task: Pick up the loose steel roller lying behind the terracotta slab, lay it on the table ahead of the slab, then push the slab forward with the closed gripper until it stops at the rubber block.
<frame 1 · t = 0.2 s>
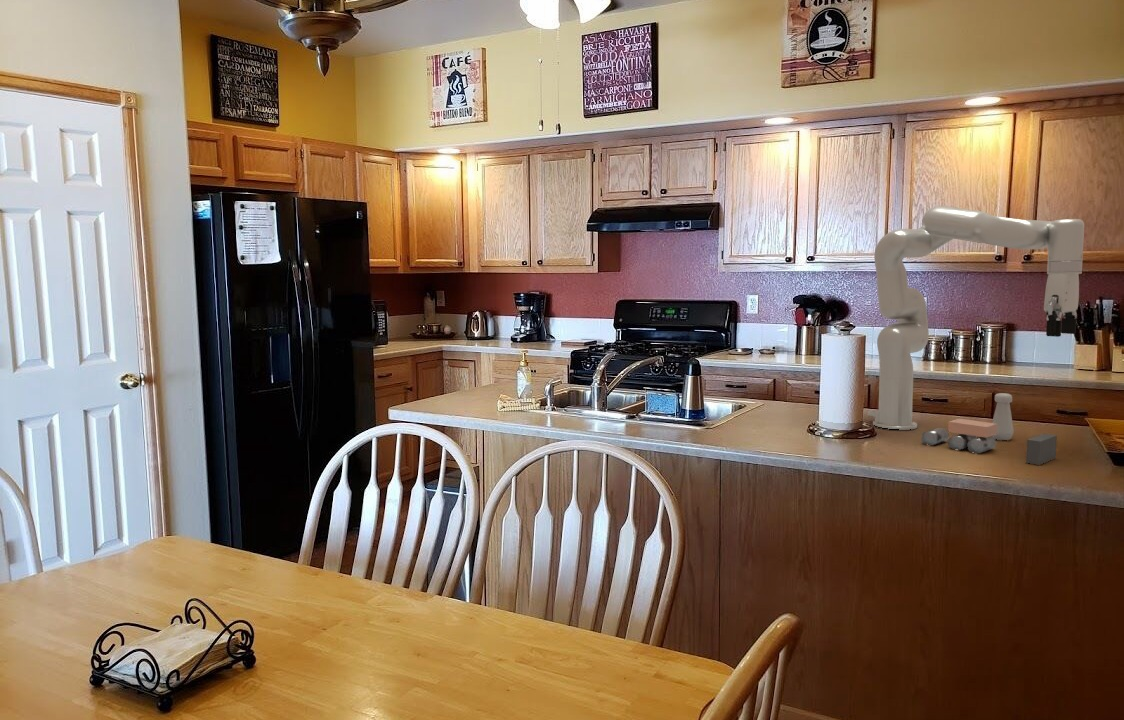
hand: (1061, 334, 202), 31 cm above the kitchen island counter, tool pointing down, fingers open, 9 cm apart
loose steel roller: (934, 443, 218), on the kitchen island counter
terracotta slab: (972, 427, 209), point 6 cm above the kitchen island counter, slide at 0.0 cm
front steel roller: (981, 451, 208), on the kitchen island counter
rear steel roller: (962, 448, 212), on the kitchen island counter
salt shaker: (1001, 439, 221), on the kitchen island counter
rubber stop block: (1040, 460, 196), on the kitchen island counter
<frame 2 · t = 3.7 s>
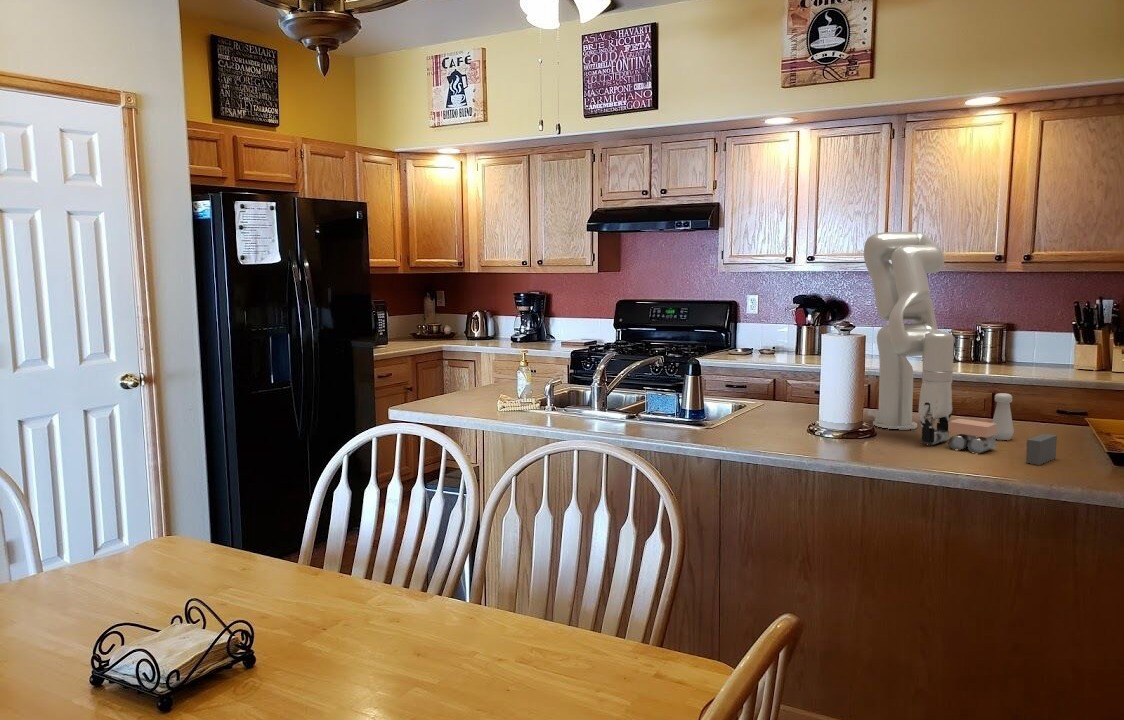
hand: (935, 439, 217), 1 cm above the kitchen island counter, tool pointing down, fingers closed on loose steel roller, 7 cm apart
loose steel roller: (934, 443, 218), on the kitchen island counter, touching gripper
everything else where it was.
when the fingers open (2 cm above the kitchen island counter, at t = 10.0 s): loose steel roller stays where it is, on the kitchen island counter.
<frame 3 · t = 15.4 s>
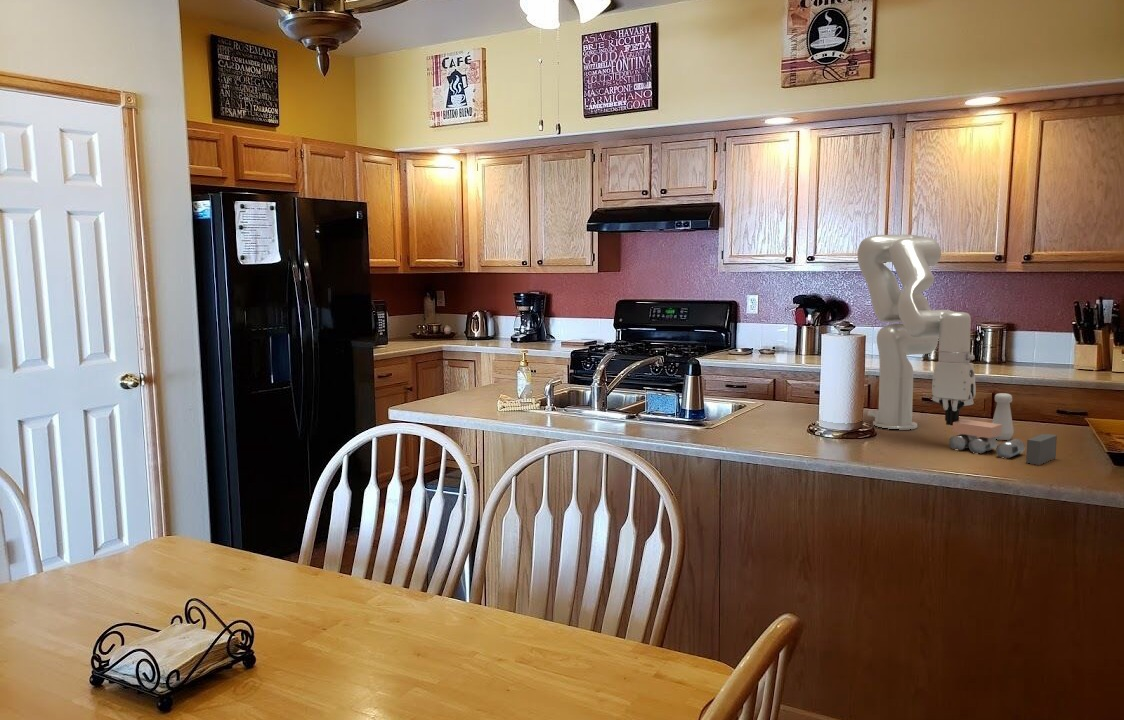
hand: (951, 424, 213), 6 cm above the kitchen island counter, tool pointing down, fingers closed
loose steel roller: (1010, 456, 202), on the kitchen island counter
terracotta slab: (977, 428, 208), point 6 cm above the kitchen island counter, slide at 1.2 cm, touching gripper
front steel roller: (981, 451, 208), on the kitchen island counter, tilted 11°
rear steel roller: (962, 448, 212), on the kitchen island counter, tilted 6°
everything else where it was.
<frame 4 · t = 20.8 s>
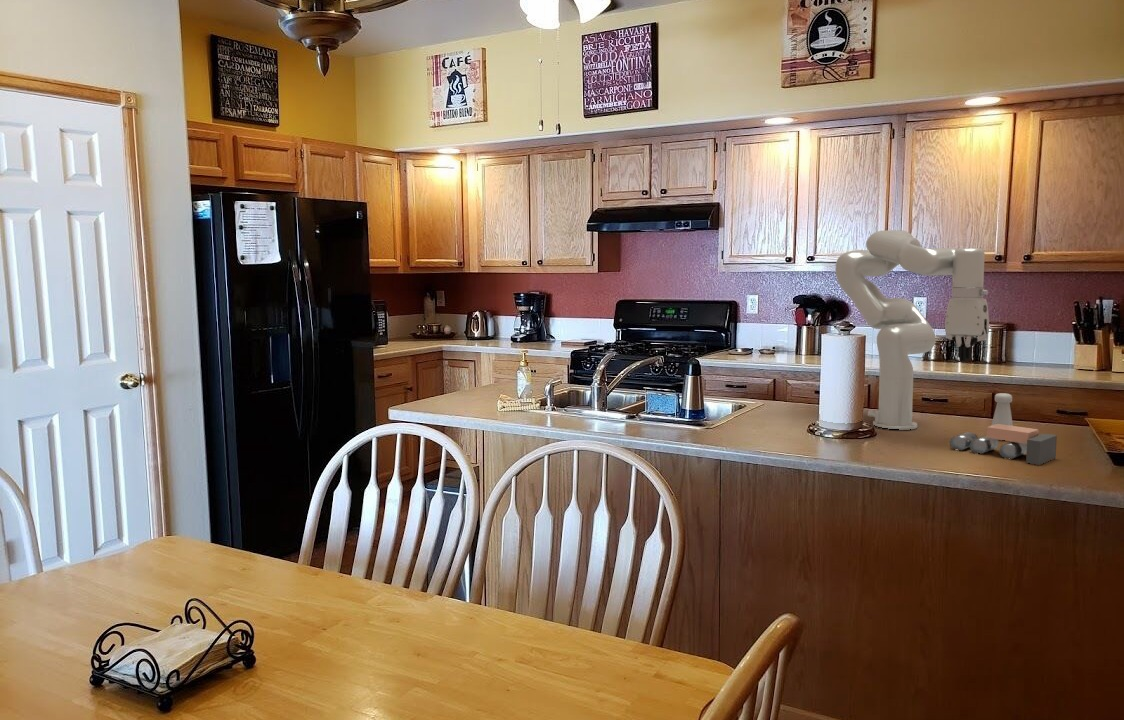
hand: (964, 360, 214), 23 cm above the kitchen island counter, tool pointing down, fingers closed
loose steel roller: (1010, 455, 202), on the kitchen island counter, tilted 21°
terracotta slab: (1012, 433, 201), point 6 cm above the kitchen island counter, slide at 10.0 cm
front steel roller: (981, 451, 208), on the kitchen island counter, tilted 20°
rear steel roller: (962, 448, 212), on the kitchen island counter, tilted 12°
everything else where it was.
at the end: terracotta slab slide at 10.0 cm; loose steel roller inside the target area (0.2 cm from its centre), on the kitchen island counter; the gripper is holding nothing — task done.
